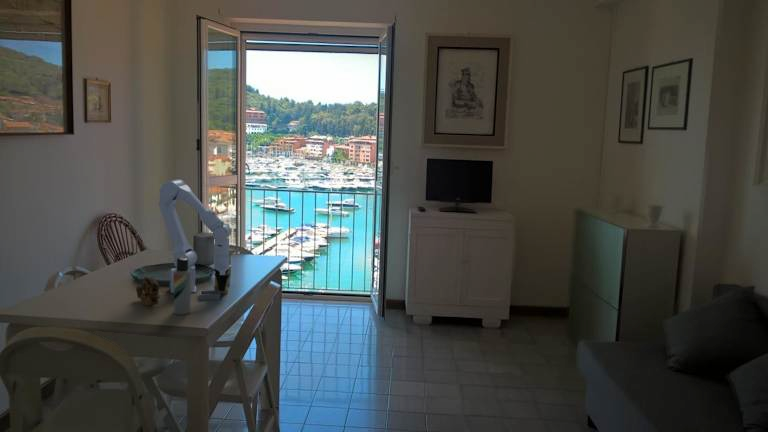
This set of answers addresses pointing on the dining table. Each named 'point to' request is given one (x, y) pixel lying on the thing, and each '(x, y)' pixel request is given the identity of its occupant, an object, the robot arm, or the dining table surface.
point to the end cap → (209, 295)
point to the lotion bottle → (182, 287)
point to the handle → (230, 264)
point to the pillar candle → (204, 248)
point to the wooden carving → (148, 291)
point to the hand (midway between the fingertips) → (221, 288)
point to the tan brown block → (218, 289)
